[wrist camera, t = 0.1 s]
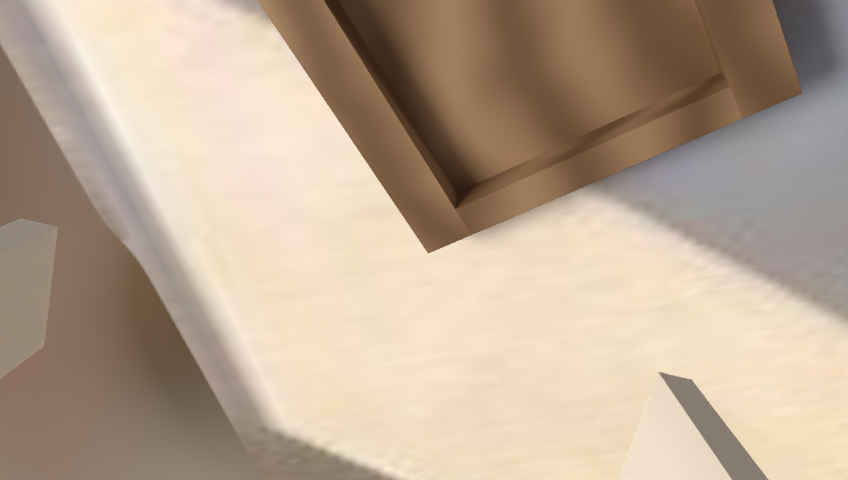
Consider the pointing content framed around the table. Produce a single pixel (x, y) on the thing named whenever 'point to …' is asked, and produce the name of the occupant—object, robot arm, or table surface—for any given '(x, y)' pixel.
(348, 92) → the tray
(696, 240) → the table surface
